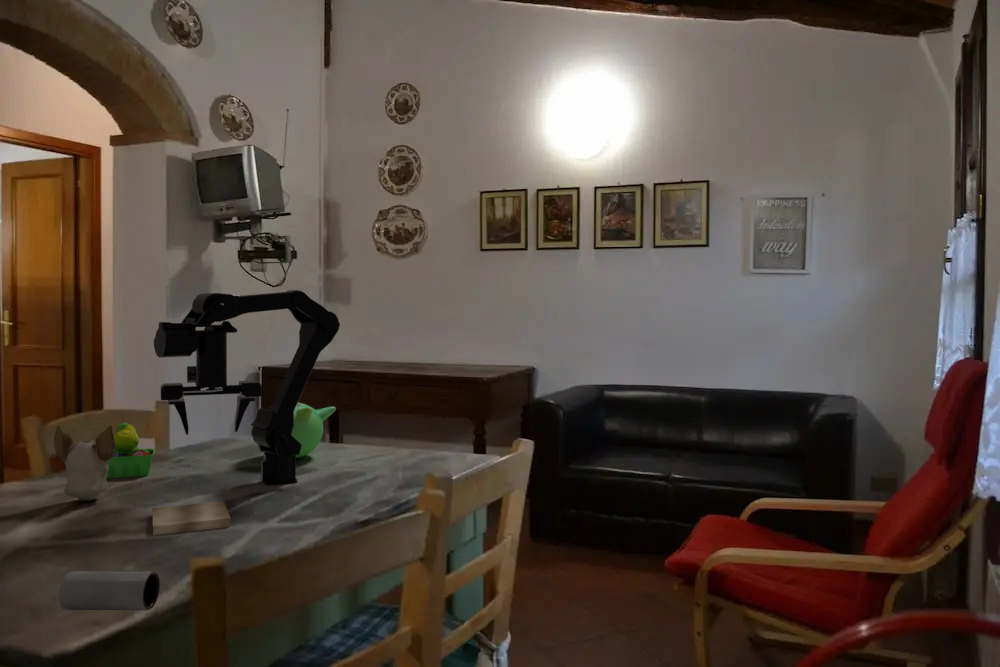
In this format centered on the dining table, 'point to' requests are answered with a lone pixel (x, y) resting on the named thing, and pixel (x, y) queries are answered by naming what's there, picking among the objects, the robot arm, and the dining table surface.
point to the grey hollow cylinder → (109, 590)
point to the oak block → (190, 517)
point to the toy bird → (309, 426)
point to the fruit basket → (129, 455)
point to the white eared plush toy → (85, 463)
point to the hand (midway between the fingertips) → (211, 433)
